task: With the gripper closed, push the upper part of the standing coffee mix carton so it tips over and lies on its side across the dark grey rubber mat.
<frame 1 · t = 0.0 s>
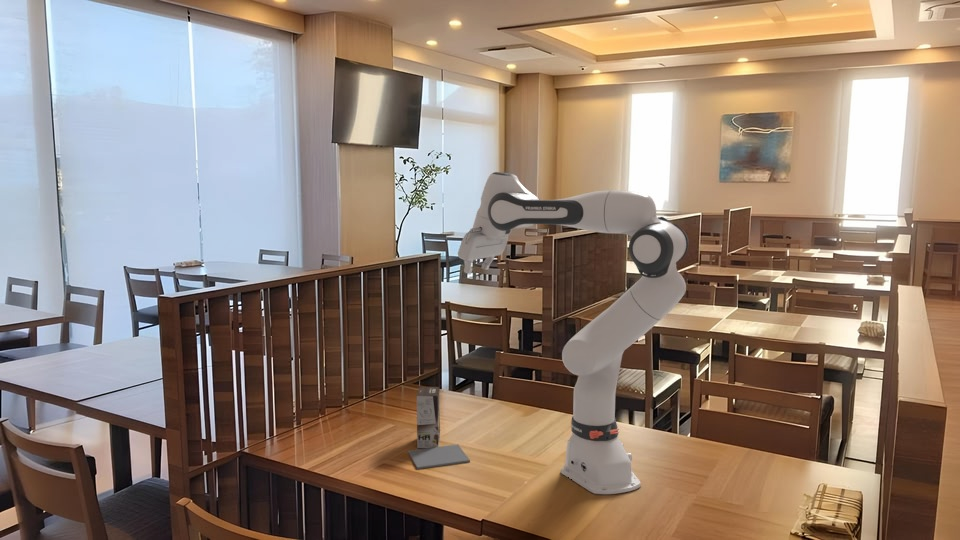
hand: (476, 270, 196), 52 cm above the table, tool tilted 20°, fingers open, 8 cm apart
coffee box: (429, 443, 203), on the table
rubber mat: (438, 457, 192), on the table
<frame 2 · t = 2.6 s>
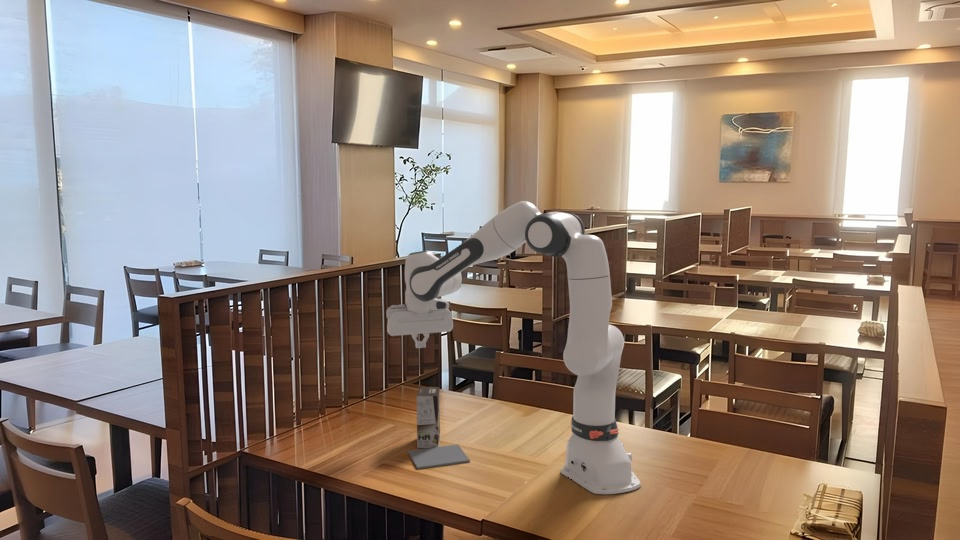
hand: (420, 347, 208), 27 cm above the table, tool pointing down, fingers closed
nothing on the table moved.
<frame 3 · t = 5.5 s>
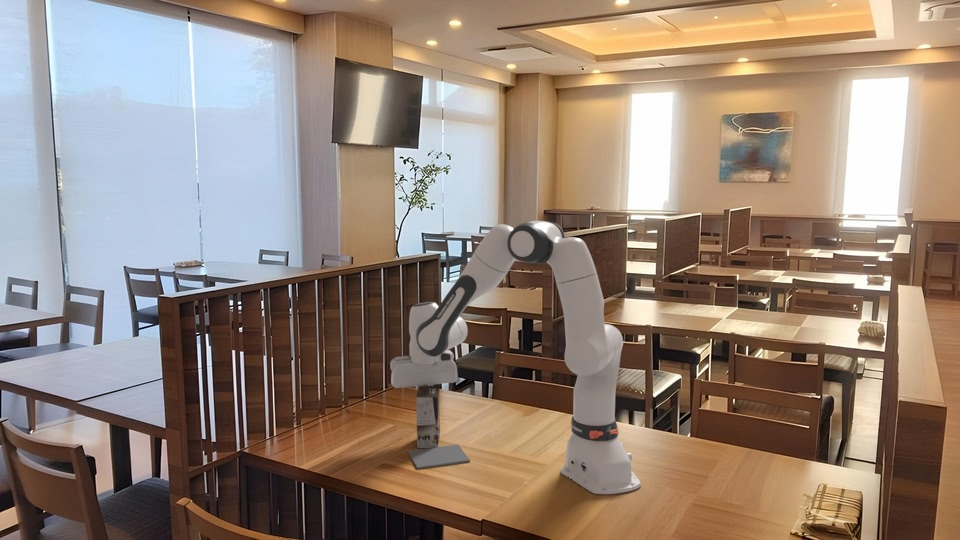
hand: (424, 398, 206), 12 cm above the table, tool pointing down, fingers closed
coffee box: (429, 442, 203), on the table, touching gripper
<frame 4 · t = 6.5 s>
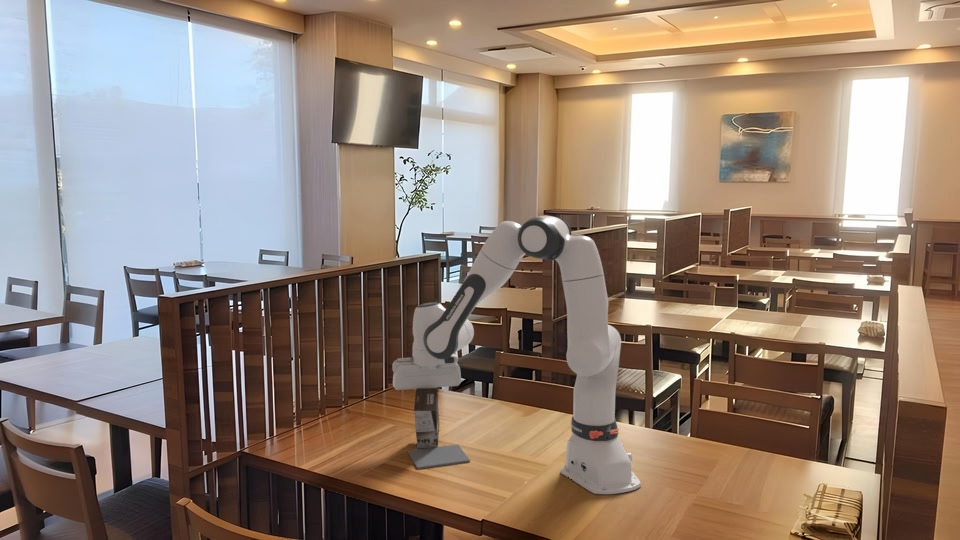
hand: (426, 401, 201), 13 cm above the table, tool pointing down, fingers closed
coffee box: (428, 437, 202), point 2 cm above the table, touching gripper
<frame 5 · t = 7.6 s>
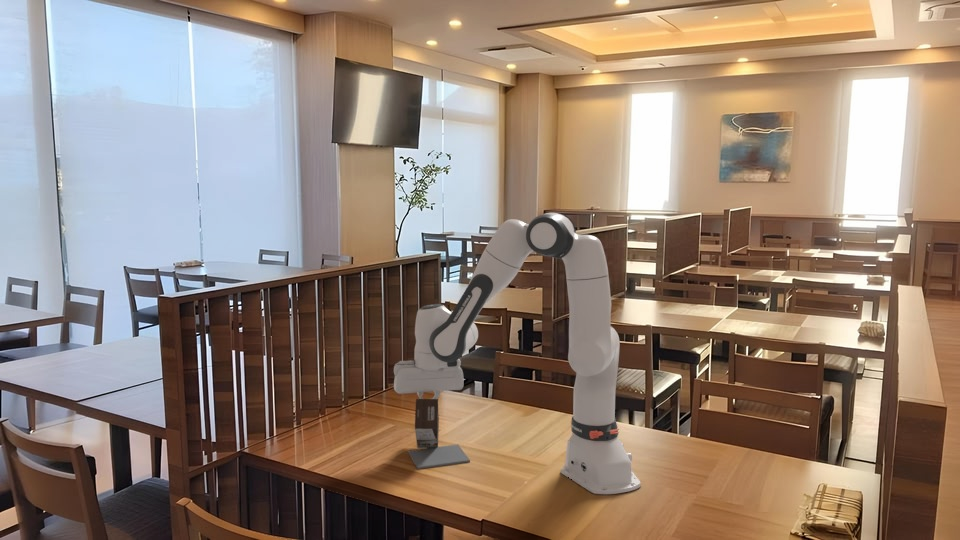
hand: (428, 405, 196), 13 cm above the table, tool pointing down, fingers closed
coffee box: (428, 433, 201), point 3 cm above the table, touching gripper, rubber mat
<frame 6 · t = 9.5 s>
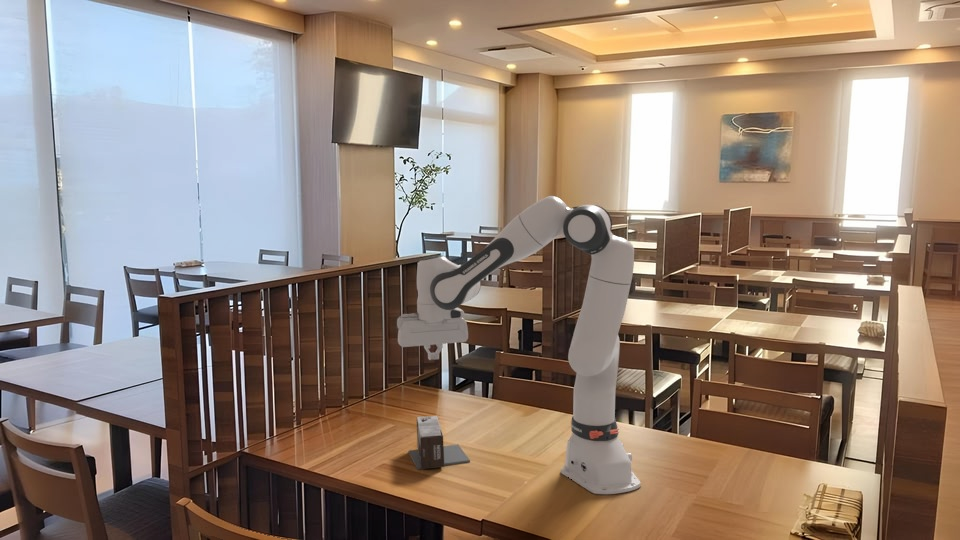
hand: (433, 359, 194), 27 cm above the table, tool pointing down, fingers closed
coffee box: (427, 430, 198), point 5 cm above the table, touching rubber mat
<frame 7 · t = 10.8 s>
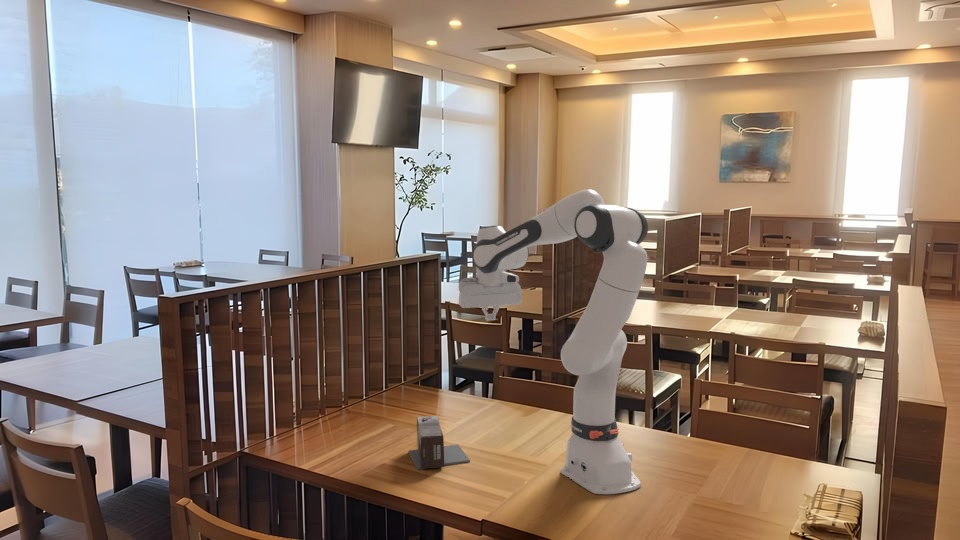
hand: (490, 320, 214), 34 cm above the table, tool pointing down, fingers closed
nothing on the table moved.
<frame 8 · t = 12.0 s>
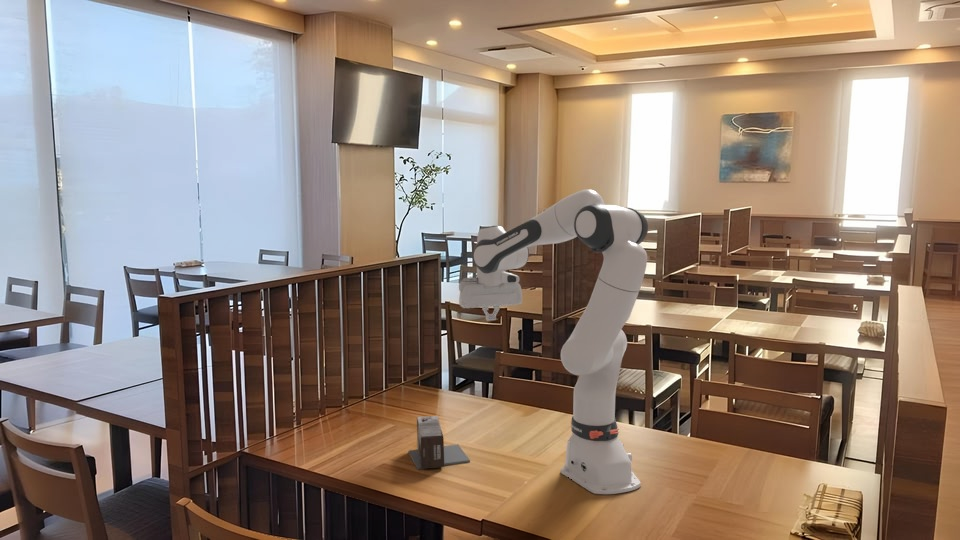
hand: (490, 320, 214), 34 cm above the table, tool pointing down, fingers closed
nothing on the table moved.
at the end: coffee box tilted 91°; coffee box inside the target area on the rubber mat (6.7 cm from its centre), point 5.2 cm above the rubber mat's base; the gripper is holding nothing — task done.
